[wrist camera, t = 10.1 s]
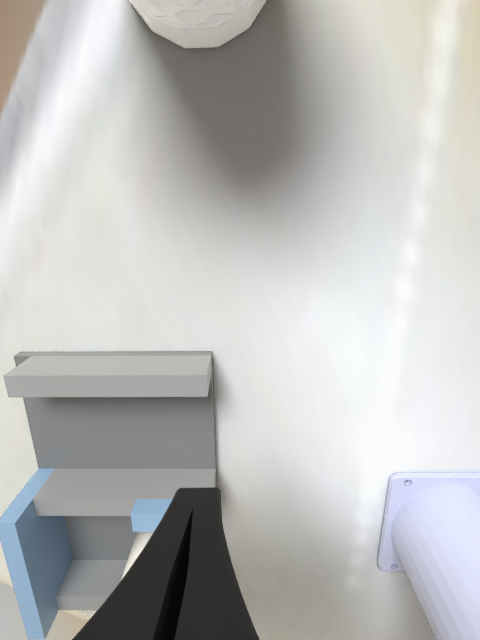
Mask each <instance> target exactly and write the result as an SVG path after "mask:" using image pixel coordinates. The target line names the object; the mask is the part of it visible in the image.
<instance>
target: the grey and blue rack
mask: <svg viewBox="0 0 480 640" xmlns="http://www.w3.org/2000/svg"><path fill="white" fill-rule="evenodd" d="M14 359H15V363H16V367H15V368H14V369H12V370H11V371H10V372H8V373H7V374H5V375H4V380H5V384H6V388H7V393H8V397H23V400H24V404H25V409H26V413H27V418H28V422H29V427H30V431H31V436H32V440H33V445H34V449H35V454H36V458H37V463H38V467H39V469H38V470H37V472H36V473H35V474H34V475H33V477H32V478H31V479H30V480H29V482H28V483H27V484H26V485H25V487H24V488H23V489H22V490H21V492H20V493H19V494H18V496H17V497H16V498H15V499H14V501H13V502H12V503H11V504H10V506H9V507H8V508H7V509H6V511H5V512H4V513H3V515H2V516H1V517H0V541H1V545H2V548H3V552H4V555H5V559H6V562H7V566H8V570H9V573H10V577H11V580H12V584H13V587H14V591H15V594H16V598H17V601H18V605H19V608H20V612H21V615H22V619H23V623H24V626H25V630H26V633H27V637H28V639H45V638H46V636H47V634H48V632H49V630H50V628H51V625H52V623H53V621H54V619H55V617H56V615H57V612H58V610H98V609H99V608H100V607H101V606H102V604H103V603H104V602H105V601H106V599H107V598H108V597H109V596H110V594H111V593H112V592H113V590H114V589H115V588H116V587H117V585H118V584H119V583H120V581H121V579H122V576H123V572H124V569H125V566H126V563H127V560H128V557H129V554H130V551H131V548H132V545H133V542H134V539H135V536H136V533H137V532H154V531H155V529H156V528H157V526H158V524H159V523H160V521H161V519H162V518H163V516H164V514H165V512H166V511H167V509H168V507H169V505H170V503H171V501H172V499H173V497H174V495H175V493H176V491H177V490H178V489H179V488H207V487H217V480H216V453H215V425H214V398H213V371H212V351H146V352H20V353H18V354H17V355H15V356H14Z"/></svg>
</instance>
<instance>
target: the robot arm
mask: <svg viewBox="0 0 480 640" xmlns="http://www.w3.org/2000/svg"><path fill="white" fill-rule="evenodd" d="M406 480H409V481H407V482H405V481H406ZM378 566H379V568H380V569H381V570H382V571H404V572H406V573H407V575H408V578H409V580H410V582H411V584H412V587H413V589H414V591H415V593H416V596H417V598H418V600H419V602H420V605H421V607H422V609H423V611H424V614H425V616H426V618H427V620H428V623H429V625H430V627H431V629H432V632H433V634H434V636H435V638H436V640H480V473H395V474H393V475H392V476H391V477H390V480H389V487H388V493H387V500H386V507H385V514H384V521H383V528H382V534H381V541H380V548H379V555H378ZM72 640H259V637H258V635H257V633H256V631H255V628H254V626H253V623H252V621H251V618H250V616H249V613H248V610H247V608H246V605H245V602H244V600H243V597H242V594H241V591H240V588H239V585H238V582H237V579H236V576H235V573H234V569H233V566H232V563H231V559H230V556H229V552H228V548H227V543H226V539H225V535H224V530H223V525H222V514H221V495H220V490H219V489H218V488H217V487H207V488H179V489H178V490H177V491H176V493H175V495H174V497H173V499H172V501H171V503H170V505H169V507H168V509H167V511H166V512H165V514H164V516H163V518H162V519H161V521H160V523H159V524H158V526H157V528H156V529H155V531H154V533H153V534H152V536H151V537H150V539H149V541H148V542H147V544H146V545H145V547H144V548H143V550H142V551H141V553H140V554H139V556H138V557H137V559H136V560H135V562H134V563H133V564H132V566H131V567H130V569H129V570H128V572H127V573H126V574H125V576H124V577H123V579H122V580H121V581H120V583H119V584H118V585H117V587H116V588H115V589H114V590H113V592H112V593H111V594H110V596H109V597H108V598H107V599H106V601H105V602H104V603H103V604H102V606H101V607H100V608H99V609H98V610H97V612H96V613H95V614H94V615H93V616H92V617H91V619H90V620H89V621H88V622H87V623H86V624H85V626H84V627H83V628H82V629H81V631H80V632H79V633H78V634H77V635H76V636H75V637H74V638H73V639H72Z"/></svg>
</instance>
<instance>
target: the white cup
mask: <svg viewBox="0 0 480 640" xmlns="http://www.w3.org/2000/svg"><path fill="white" fill-rule="evenodd" d="M266 1H267V0H129V2H130V3H131V4H132V5H133V7H134V8H135V9H136V11H137V12H138V13H139V15H140V16H141V17H142V19H143V20H144V21H145V23H146V24H147V25H148V27H149V28H150V29H151V30H152V31H153V32H154V33H156V34H158V35H160V36H162V37H164V38H166V39H168V40H170V41H172V42H173V43H175V44H177V45H179V46H181V47H183V48H209V47H220V46H221V45H223V44H225V43H226V42H228V41H229V40H231V39H233V38H234V37H236V36H237V35H239V34H241V33H242V32H244V31H246V30H247V29H249V28H250V26H251V25H252V23H253V21H254V20H255V18H256V17H257V15H258V14H259V12H260V10H261V9H262V7H263V6H264V4H265V2H266Z"/></svg>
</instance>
